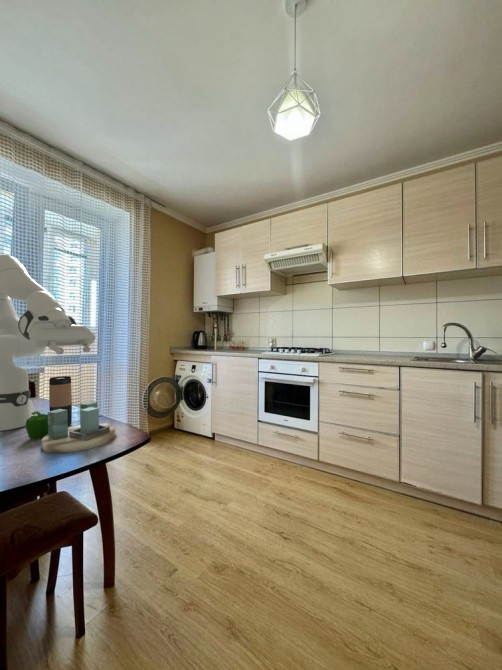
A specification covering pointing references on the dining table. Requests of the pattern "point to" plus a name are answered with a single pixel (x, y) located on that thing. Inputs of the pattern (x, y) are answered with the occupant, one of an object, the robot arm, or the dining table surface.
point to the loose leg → (89, 420)
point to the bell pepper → (37, 426)
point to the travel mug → (61, 395)
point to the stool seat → (73, 433)
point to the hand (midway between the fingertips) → (75, 352)
